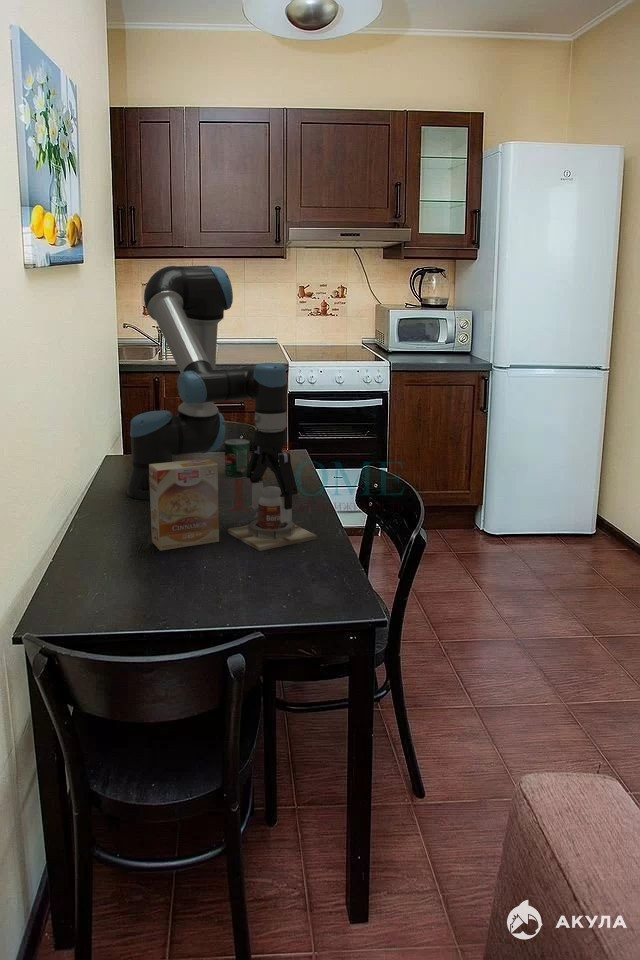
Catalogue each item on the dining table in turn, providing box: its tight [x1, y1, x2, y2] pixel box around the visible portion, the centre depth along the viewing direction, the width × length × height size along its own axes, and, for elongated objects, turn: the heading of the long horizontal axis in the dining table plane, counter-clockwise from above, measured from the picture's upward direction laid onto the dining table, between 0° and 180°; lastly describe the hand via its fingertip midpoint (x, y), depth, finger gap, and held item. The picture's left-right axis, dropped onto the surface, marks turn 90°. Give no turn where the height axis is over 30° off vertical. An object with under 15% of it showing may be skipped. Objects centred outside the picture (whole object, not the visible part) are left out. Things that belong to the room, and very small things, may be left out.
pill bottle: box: [257, 485, 284, 529], centre depth 207 cm, size 6×6×11 cm
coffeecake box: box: [149, 457, 220, 551], centre depth 201 cm, size 15×7×20 cm, turn 117°
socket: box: [227, 518, 318, 552], centre depth 208 cm, size 16×16×3 cm
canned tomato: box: [223, 438, 251, 480], centre depth 264 cm, size 8×8×11 cm
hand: (271, 514), depth 207 cm, fingers open, 13 cm apart
